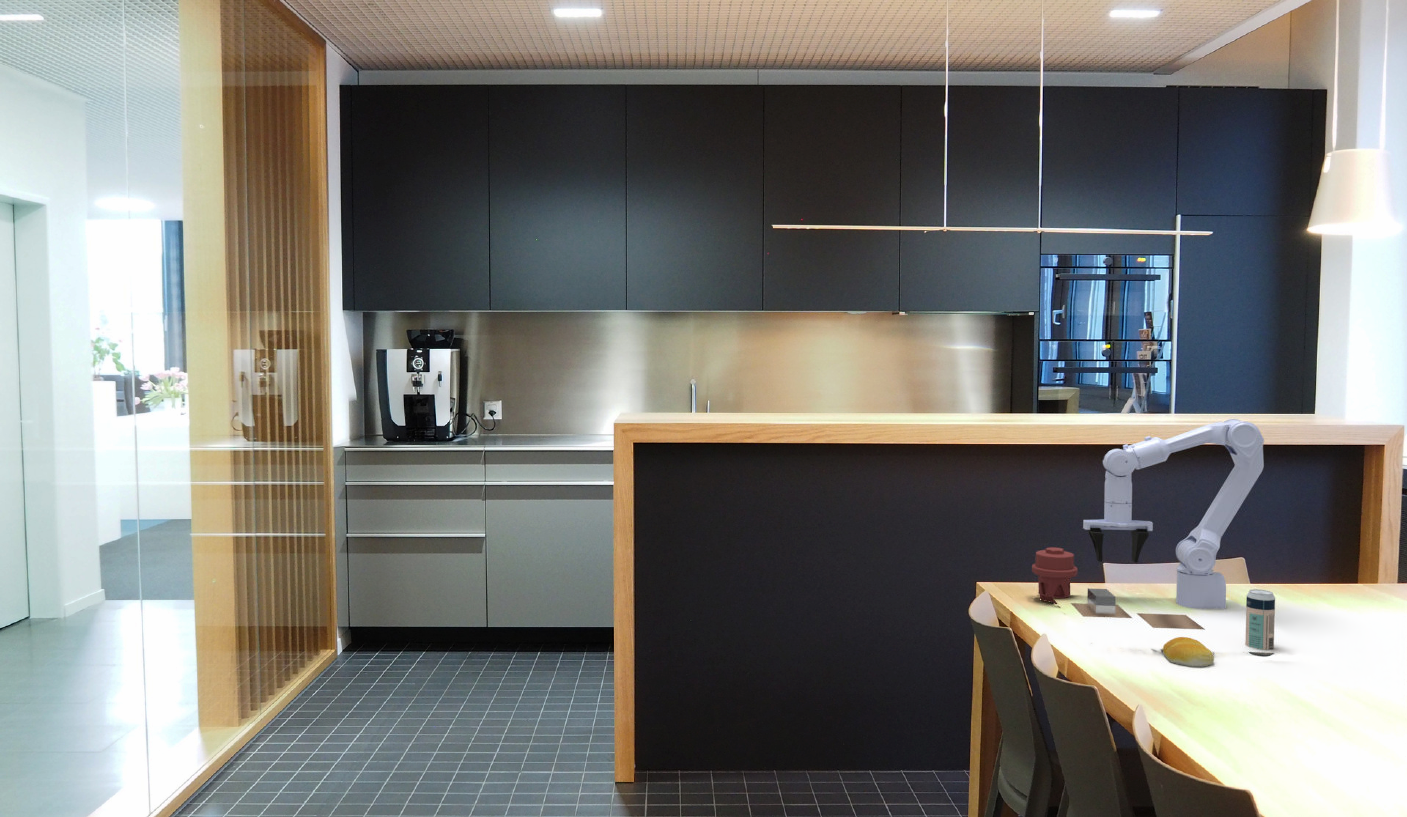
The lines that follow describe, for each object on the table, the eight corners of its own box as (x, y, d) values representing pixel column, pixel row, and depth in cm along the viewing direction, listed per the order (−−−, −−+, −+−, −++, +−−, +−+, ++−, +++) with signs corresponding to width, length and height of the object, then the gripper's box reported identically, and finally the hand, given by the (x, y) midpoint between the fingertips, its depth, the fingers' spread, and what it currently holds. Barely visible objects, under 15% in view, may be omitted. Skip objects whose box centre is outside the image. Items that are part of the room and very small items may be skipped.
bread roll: (1173, 667, 172) (1173, 646, 172) (1158, 652, 181) (1158, 632, 181) (1221, 669, 171) (1222, 648, 171) (1204, 654, 180) (1204, 634, 180)
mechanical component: (1067, 595, 224) (1083, 606, 214) (1025, 595, 225) (1039, 606, 215) (1068, 544, 224) (1084, 553, 214) (1026, 544, 224) (1040, 553, 214)
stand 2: (1185, 621, 202) (1185, 614, 202) (1205, 636, 191) (1205, 629, 191) (1136, 620, 203) (1136, 613, 203) (1152, 634, 192) (1153, 627, 192)
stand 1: (1117, 611, 210) (1117, 604, 210) (1132, 624, 199) (1132, 617, 199) (1070, 609, 212) (1070, 603, 212) (1083, 623, 201) (1083, 616, 201)
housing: (1106, 606, 208) (1106, 588, 208) (1115, 615, 202) (1115, 596, 201) (1087, 606, 209) (1087, 588, 209) (1095, 614, 202) (1096, 596, 202)
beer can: (1270, 651, 181) (1272, 589, 180) (1276, 658, 176) (1278, 595, 176) (1242, 648, 182) (1243, 587, 182) (1247, 656, 178) (1249, 593, 177)
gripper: (1089, 504, 211) (1088, 564, 211) (1157, 505, 208) (1156, 565, 209) (1081, 499, 217) (1080, 557, 218) (1147, 500, 215) (1146, 559, 216)
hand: (1117, 561), depth 214 cm, fingers open, 7 cm apart
